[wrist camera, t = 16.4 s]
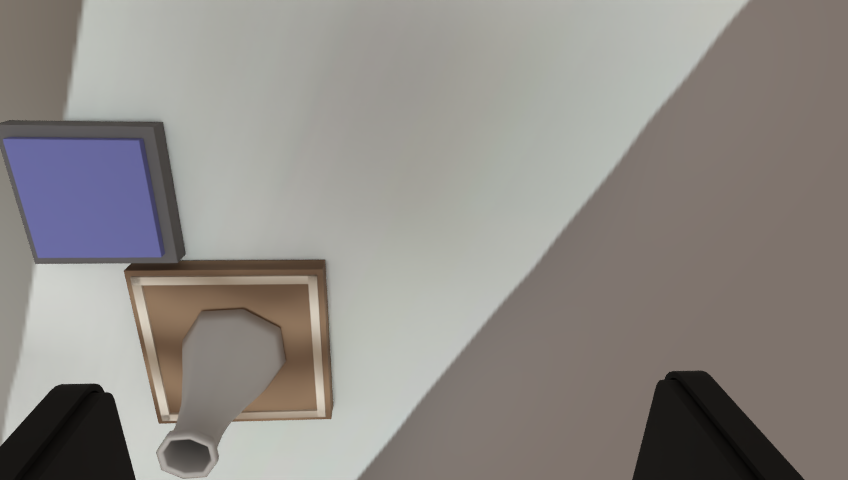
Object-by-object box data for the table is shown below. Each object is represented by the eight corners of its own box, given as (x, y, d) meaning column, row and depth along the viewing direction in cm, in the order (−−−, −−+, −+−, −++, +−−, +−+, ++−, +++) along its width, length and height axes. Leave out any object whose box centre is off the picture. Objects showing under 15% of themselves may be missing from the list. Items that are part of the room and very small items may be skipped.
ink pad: (9, 120, 31) (-14, 126, 29) (162, 122, 32) (148, 128, 30) (48, 254, 35) (29, 267, 33) (185, 254, 35) (174, 267, 34)
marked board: (134, 260, 35) (122, 272, 34) (325, 259, 36) (322, 270, 35) (166, 409, 41) (157, 425, 39) (333, 405, 42) (331, 420, 40)
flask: (277, 397, 39) (243, 514, 30) (177, 379, 38) (111, 494, 29) (296, 318, 36) (265, 419, 27) (190, 295, 35) (121, 393, 26)
